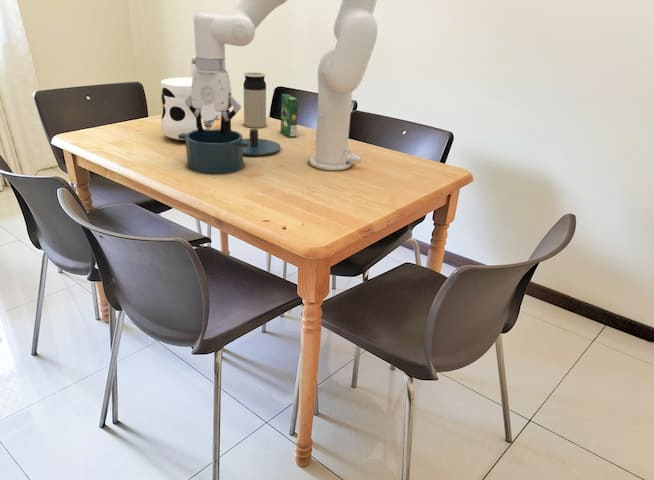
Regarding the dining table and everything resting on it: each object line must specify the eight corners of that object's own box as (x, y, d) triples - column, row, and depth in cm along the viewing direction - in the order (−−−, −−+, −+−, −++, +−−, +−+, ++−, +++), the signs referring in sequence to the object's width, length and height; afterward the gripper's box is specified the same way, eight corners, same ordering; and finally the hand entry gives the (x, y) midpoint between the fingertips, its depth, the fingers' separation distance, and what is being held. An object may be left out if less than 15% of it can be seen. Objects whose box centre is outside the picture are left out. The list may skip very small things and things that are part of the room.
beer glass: (228, 152, 149) (226, 99, 141) (225, 160, 143) (223, 105, 135) (204, 151, 148) (201, 98, 141) (200, 159, 142) (197, 104, 135)
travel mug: (262, 129, 183) (261, 76, 174) (241, 126, 185) (240, 74, 176) (268, 123, 190) (268, 73, 181) (248, 121, 192) (247, 71, 183)
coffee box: (297, 137, 176) (298, 98, 170) (289, 138, 175) (290, 98, 168) (287, 131, 182) (288, 93, 176) (280, 132, 181) (280, 93, 175)
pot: (194, 153, 155) (192, 125, 151) (259, 161, 151) (258, 133, 147) (169, 168, 142) (166, 138, 138) (239, 178, 138) (239, 147, 134)
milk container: (226, 140, 169) (223, 84, 160) (178, 148, 158) (173, 88, 149) (199, 128, 180) (195, 75, 171) (153, 135, 169) (147, 79, 160)
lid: (239, 139, 171) (238, 121, 168) (286, 145, 167) (286, 126, 164) (219, 153, 157) (218, 133, 154) (270, 159, 153) (270, 139, 150)
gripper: (173, 63, 132) (179, 132, 141) (236, 70, 128) (238, 139, 137) (187, 60, 138) (191, 126, 147) (247, 66, 135) (247, 133, 144)
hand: (213, 132), depth 142 cm, fingers closed on beer glass, 7 cm apart
